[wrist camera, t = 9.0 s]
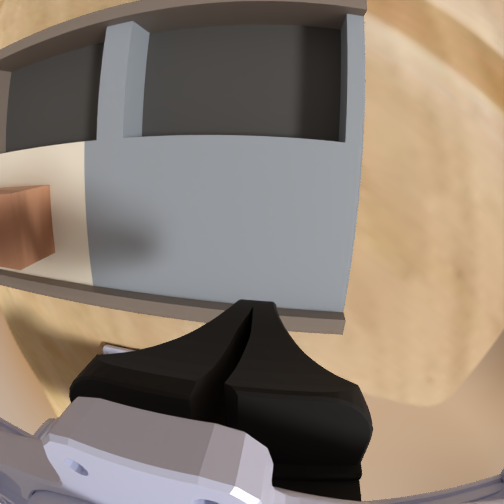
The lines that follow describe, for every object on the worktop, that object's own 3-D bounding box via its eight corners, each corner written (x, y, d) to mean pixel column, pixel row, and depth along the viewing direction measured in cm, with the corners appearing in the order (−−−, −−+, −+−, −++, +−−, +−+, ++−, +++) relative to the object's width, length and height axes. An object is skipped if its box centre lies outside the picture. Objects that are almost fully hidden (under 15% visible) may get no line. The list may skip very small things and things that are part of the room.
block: (55, 252, 21) (20, 270, 17) (8, 246, 21) (-25, 261, 17) (49, 184, 19) (11, 193, 15) (2, 187, 20) (-34, 196, 16)
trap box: (335, 305, 22) (343, 338, 18) (11, 266, 25) (-19, 282, 21) (354, 20, 16) (367, -8, 12) (8, 65, 20) (-25, 60, 15)
